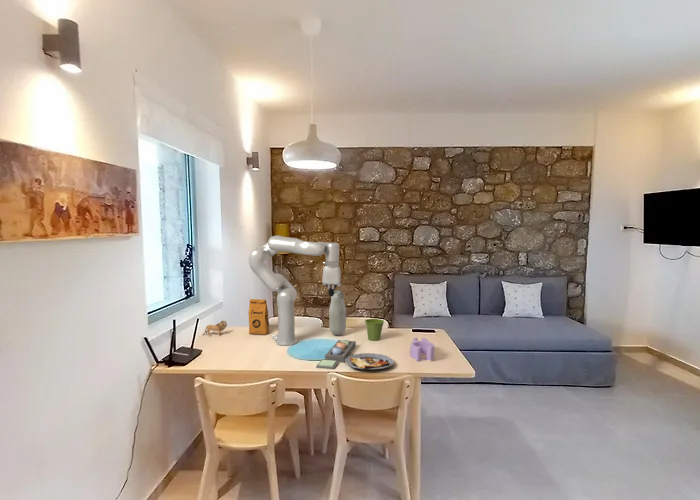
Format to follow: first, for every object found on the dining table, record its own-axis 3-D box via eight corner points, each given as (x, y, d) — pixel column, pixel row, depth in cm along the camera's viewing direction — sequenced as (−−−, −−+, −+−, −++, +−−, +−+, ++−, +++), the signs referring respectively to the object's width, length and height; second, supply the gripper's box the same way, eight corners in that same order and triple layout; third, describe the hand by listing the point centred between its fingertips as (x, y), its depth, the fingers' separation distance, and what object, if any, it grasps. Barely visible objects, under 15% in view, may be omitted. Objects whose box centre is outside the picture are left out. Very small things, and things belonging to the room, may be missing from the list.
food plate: (401, 369, 210) (401, 362, 210) (356, 376, 202) (356, 368, 202) (380, 355, 234) (380, 349, 234) (339, 360, 226) (339, 354, 226)
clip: (408, 349, 243) (408, 337, 242) (430, 350, 242) (430, 337, 242) (411, 361, 223) (412, 348, 222) (436, 362, 222) (436, 348, 222)
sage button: (339, 349, 243) (339, 341, 242) (341, 346, 247) (341, 339, 247) (348, 349, 241) (348, 342, 241) (350, 347, 246) (350, 340, 246)
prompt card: (316, 367, 213) (316, 364, 213) (321, 361, 222) (321, 358, 222) (334, 369, 211) (334, 366, 211) (338, 363, 220) (338, 360, 220)
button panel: (325, 360, 223) (325, 355, 223) (338, 345, 250) (338, 340, 250) (344, 362, 221) (344, 356, 221) (355, 346, 248) (355, 341, 248)
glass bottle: (348, 334, 273) (348, 290, 270) (337, 338, 265) (337, 292, 263) (337, 331, 279) (337, 288, 277) (326, 335, 272) (326, 290, 269)
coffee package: (265, 336, 269) (264, 301, 267) (246, 335, 272) (246, 300, 270) (271, 332, 279) (271, 298, 277) (253, 330, 281) (252, 297, 280)
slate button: (331, 356, 225) (331, 349, 225) (333, 354, 230) (333, 346, 229) (340, 357, 224) (340, 349, 224) (342, 354, 229) (342, 347, 228)
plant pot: (381, 342, 255) (381, 323, 254) (361, 340, 259) (362, 322, 259) (386, 337, 266) (386, 319, 266) (368, 335, 270) (368, 317, 270)
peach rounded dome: (335, 351, 234) (335, 344, 233) (337, 348, 238) (337, 341, 238) (344, 352, 233) (344, 344, 232) (346, 349, 237) (346, 342, 237)
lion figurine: (227, 333, 275) (226, 319, 274) (226, 335, 270) (226, 321, 269) (202, 335, 271) (202, 320, 271) (201, 337, 266) (201, 322, 266)
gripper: (317, 264, 247) (316, 296, 249) (343, 265, 244) (342, 297, 246) (321, 262, 255) (320, 293, 256) (346, 264, 251) (345, 295, 253)
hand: (331, 295), depth 251 cm, fingers closed
